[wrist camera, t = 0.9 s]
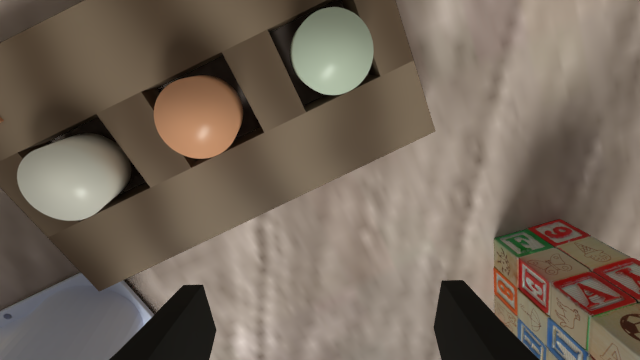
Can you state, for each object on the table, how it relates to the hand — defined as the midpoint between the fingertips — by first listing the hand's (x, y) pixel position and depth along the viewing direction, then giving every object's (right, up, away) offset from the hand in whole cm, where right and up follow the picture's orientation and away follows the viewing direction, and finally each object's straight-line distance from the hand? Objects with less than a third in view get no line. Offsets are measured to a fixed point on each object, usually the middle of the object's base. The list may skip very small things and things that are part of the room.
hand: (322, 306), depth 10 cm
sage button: (0, +11, +9) cm, 14 cm away
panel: (-7, +8, +10) cm, 15 cm away
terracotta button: (-7, +8, +9) cm, 13 cm away
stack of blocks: (+20, -10, +22) cm, 31 cm away
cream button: (-13, +5, +9) cm, 17 cm away
